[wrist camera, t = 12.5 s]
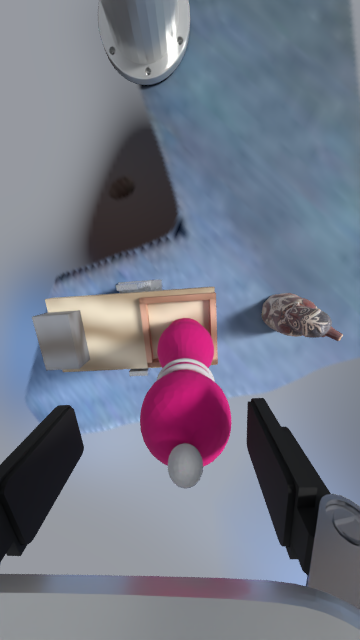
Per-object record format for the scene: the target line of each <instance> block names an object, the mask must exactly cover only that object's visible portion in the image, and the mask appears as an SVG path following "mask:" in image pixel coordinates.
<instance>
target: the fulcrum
mask: <svg viewBox="0 0 360 640" xmlns="http://www.w3.org/2000/svg"><path fill="white" fill-rule="evenodd" d="M116 289H117V291H119V292H120V293H130V292H144V291H158V290H163V286H162V279H161V280H147V281H134V282H120V283H118V285H116ZM150 369H151V368H138V369H131V370H130V371H129V373H130V376H145V375H148V374H149V372H150Z"/></svg>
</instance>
